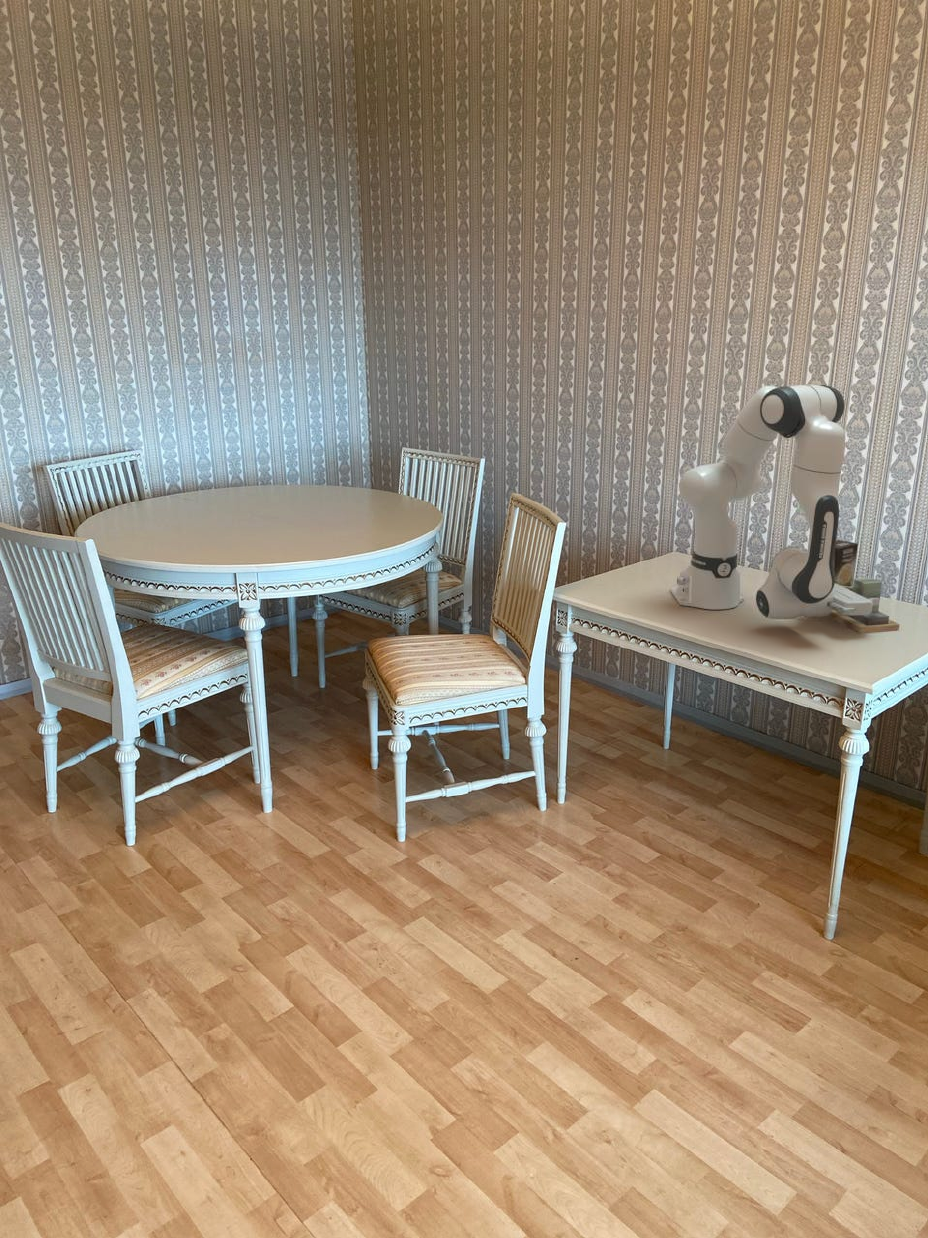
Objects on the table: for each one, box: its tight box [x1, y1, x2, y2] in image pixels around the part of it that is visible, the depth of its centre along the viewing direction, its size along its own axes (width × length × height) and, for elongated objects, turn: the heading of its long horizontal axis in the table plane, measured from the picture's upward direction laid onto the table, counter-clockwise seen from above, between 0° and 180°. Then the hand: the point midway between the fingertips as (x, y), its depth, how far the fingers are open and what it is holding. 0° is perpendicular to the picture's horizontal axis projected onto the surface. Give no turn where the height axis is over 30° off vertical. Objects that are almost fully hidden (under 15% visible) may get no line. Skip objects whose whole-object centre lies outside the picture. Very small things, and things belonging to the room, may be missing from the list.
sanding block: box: [847, 577, 890, 626], centre depth 253 cm, size 12×6×10 cm, turn 13°
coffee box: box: [834, 539, 859, 587], centre depth 272 cm, size 9×6×16 cm
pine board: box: [827, 610, 901, 634], centre depth 258 cm, size 21×11×2 cm, turn 12°
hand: (866, 595), depth 252 cm, fingers open, 8 cm apart
